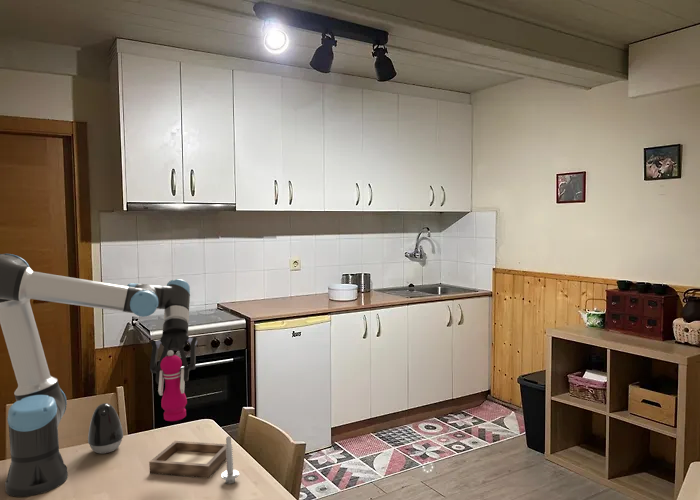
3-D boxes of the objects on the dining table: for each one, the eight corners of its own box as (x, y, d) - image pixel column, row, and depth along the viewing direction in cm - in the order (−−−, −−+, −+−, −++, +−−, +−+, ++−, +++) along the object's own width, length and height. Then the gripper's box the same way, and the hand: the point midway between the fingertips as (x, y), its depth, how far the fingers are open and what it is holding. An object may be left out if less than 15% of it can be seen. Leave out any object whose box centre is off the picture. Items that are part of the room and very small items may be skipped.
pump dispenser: (87, 460, 164) (84, 411, 163) (89, 446, 174) (87, 401, 173) (123, 453, 168) (121, 406, 167) (123, 440, 178) (121, 396, 177)
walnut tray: (149, 473, 155) (149, 461, 154) (175, 451, 169) (174, 440, 168) (209, 478, 151) (208, 466, 151) (230, 455, 165) (229, 444, 165)
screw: (239, 476, 152) (238, 485, 147) (222, 478, 151) (220, 486, 146) (238, 431, 151) (236, 439, 146) (220, 433, 150) (218, 440, 145)
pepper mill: (180, 422, 153) (175, 353, 151) (157, 421, 154) (152, 353, 153) (192, 412, 160) (187, 347, 158) (170, 412, 161) (165, 346, 160)
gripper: (207, 327, 172) (205, 394, 157) (147, 332, 169) (140, 401, 154) (204, 314, 166) (202, 382, 151) (142, 319, 163) (134, 389, 148)
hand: (171, 392), depth 153 cm, fingers closed on pepper mill, 5 cm apart
